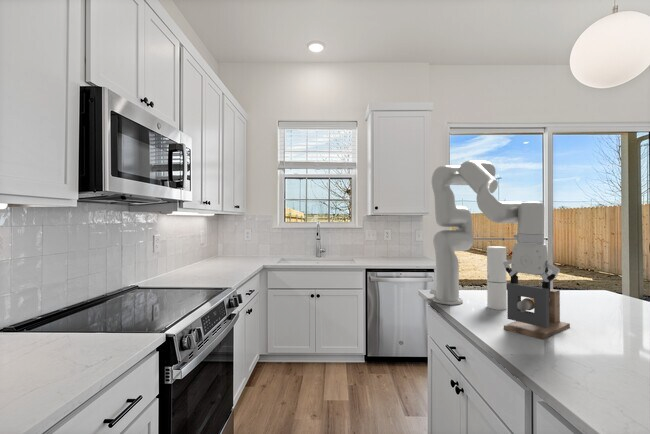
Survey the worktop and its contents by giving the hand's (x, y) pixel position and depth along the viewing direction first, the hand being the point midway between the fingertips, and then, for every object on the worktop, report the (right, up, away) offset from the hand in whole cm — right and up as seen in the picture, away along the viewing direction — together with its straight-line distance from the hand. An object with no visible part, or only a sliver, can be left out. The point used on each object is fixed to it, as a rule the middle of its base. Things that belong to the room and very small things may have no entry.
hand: (529, 290), depth 115 cm
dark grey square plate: (-2, -10, -2) cm, 10 cm away
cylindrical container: (+3, -13, +28) cm, 31 cm away
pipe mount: (+4, -13, +2) cm, 14 cm away
